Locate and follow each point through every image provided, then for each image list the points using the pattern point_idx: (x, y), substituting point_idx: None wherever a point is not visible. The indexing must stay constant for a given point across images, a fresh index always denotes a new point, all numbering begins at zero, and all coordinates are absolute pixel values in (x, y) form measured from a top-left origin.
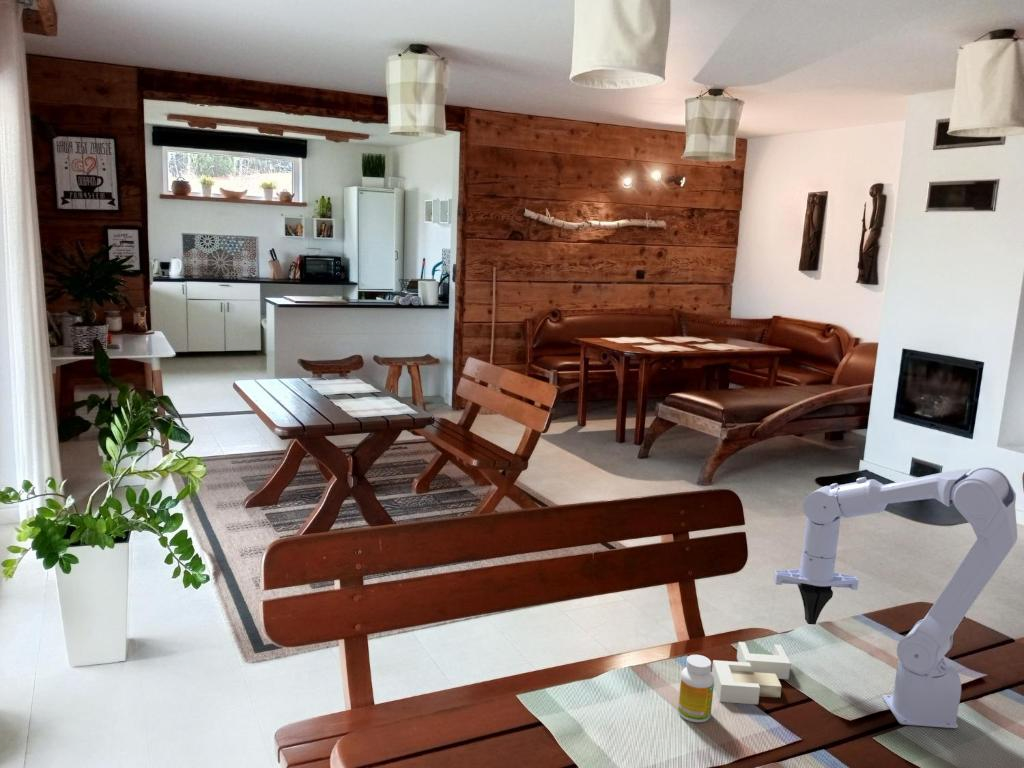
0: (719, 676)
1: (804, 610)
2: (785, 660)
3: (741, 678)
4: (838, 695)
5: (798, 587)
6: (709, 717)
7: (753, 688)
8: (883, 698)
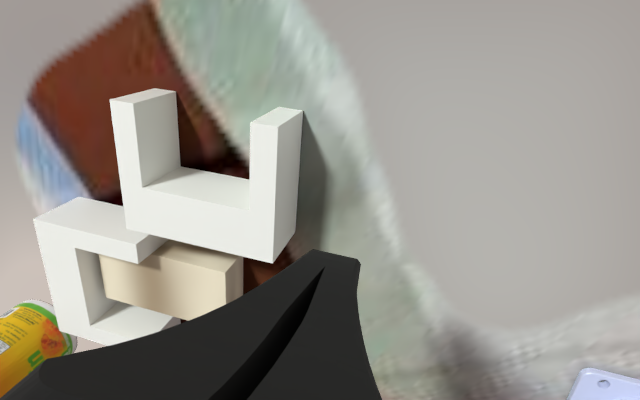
0: (53, 297)
1: (283, 270)
2: (259, 245)
3: (123, 281)
4: (426, 326)
5: (99, 352)
6: (73, 352)
7: None
8: (576, 380)
